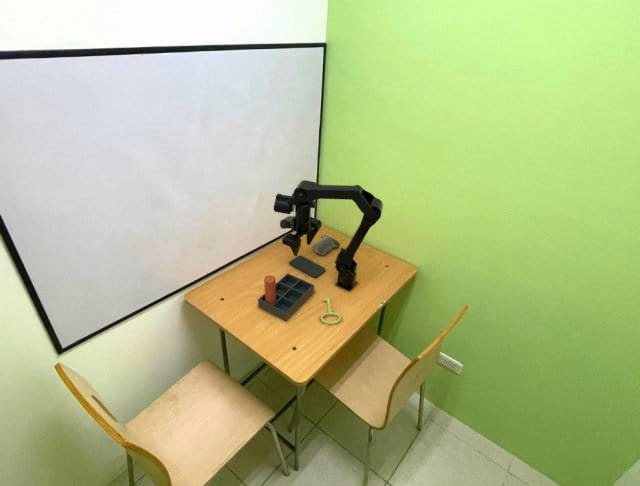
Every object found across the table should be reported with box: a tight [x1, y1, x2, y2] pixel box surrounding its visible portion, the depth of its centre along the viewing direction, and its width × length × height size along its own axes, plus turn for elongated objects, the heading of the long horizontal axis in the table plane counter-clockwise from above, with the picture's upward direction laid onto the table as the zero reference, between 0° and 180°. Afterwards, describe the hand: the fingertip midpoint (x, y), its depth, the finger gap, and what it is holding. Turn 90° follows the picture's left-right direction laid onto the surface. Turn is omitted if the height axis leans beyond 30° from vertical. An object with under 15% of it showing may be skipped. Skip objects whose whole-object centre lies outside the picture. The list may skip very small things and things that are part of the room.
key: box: [320, 296, 342, 325], centre depth 137 cm, size 7×12×2 cm, turn 23°
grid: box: [257, 272, 315, 322], centre depth 141 cm, size 13×19×4 cm
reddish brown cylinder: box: [263, 274, 277, 305], centre depth 135 cm, size 4×4×12 cm
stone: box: [312, 234, 341, 256], centre depth 168 cm, size 12×5×10 cm
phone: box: [289, 255, 326, 279], centre depth 158 cm, size 7×1×15 cm
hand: (302, 250), depth 145 cm, fingers open, 9 cm apart
